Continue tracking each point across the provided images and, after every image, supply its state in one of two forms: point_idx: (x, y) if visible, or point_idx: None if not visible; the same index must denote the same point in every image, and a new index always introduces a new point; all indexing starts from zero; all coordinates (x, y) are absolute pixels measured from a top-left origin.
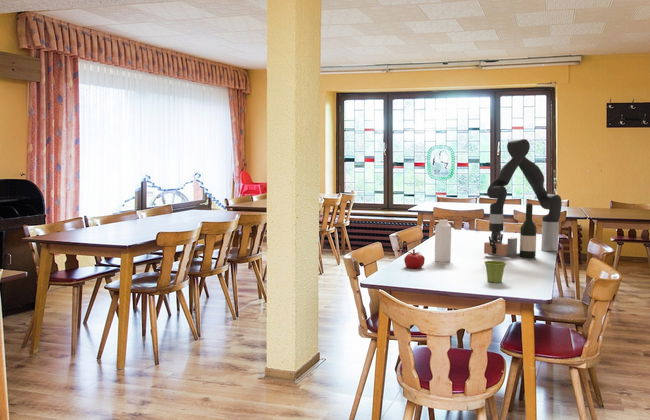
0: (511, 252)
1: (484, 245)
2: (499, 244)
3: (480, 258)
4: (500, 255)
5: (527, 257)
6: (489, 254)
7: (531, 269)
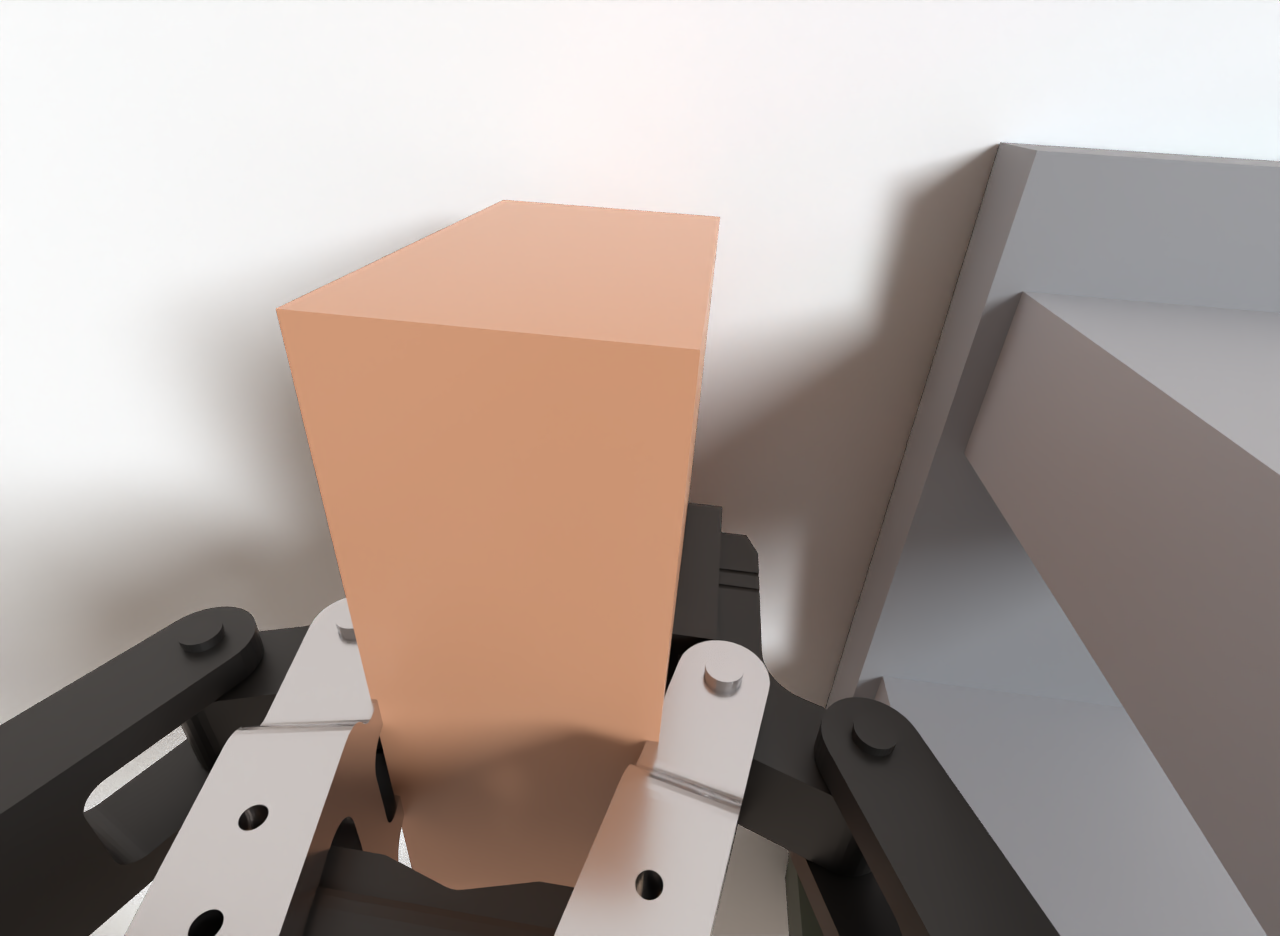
0: None
1: (374, 275)
2: (420, 864)
3: (168, 238)
4: (889, 513)
5: (786, 892)
6: (984, 195)
7: (129, 922)
